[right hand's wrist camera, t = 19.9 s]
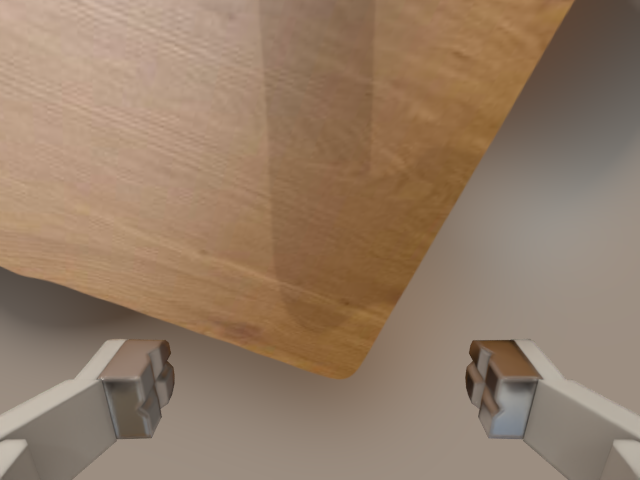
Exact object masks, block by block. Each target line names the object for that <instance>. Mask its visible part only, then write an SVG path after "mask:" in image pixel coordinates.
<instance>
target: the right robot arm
mask: <svg viewBox="0 0 640 480" xmlns="http://www.w3.org/2000/svg"><path fill="white" fill-rule="evenodd" d="M170 354H171V351H170V346H169V343H168V342H167V341H166V340H140V339H129V340H128V339H110V340H108V341H106V342H105V343H104V344H103V345H102V346H101V348H100V349H99V350H98V351H97V352H96V354H95V355H94V356H93V357H92V358H91V360H90V361H89V362H88V363H87V364H86V365H85V367H84V368H83V369H82V370H81V371H80V373H79V374H78V375H77V376H76V377H75V379H74V380H66V381H64V382H62V383H60V384H58V385H57V386H55V387H53V388H51V389H49V390H47V391H45V392H43V393H41V394H39V395H38V396H36V397H34V398H32V399H30V400H28V401H26V402H24V403H22V404H20V405H18V406H17V407H15V408H13V409H11V410H9V411H7V412H5V413H3V414H1V415H0V480H72V479H73V478H75V477H76V476H77V475H78V474H79V473H80V472H81V471H83V470H84V469H85V468H86V467H87V466H88V465H90V464H91V463H92V462H93V461H94V460H95V459H97V458H98V457H99V456H100V455H101V454H102V453H103V452H105V451H106V450H107V449H108V448H109V447H110V446H112V445H113V444H114V443H115V442H116V441H117V440H116V439H139V438H152V436H153V434H154V432H155V430H156V428H157V426H158V424H159V422H160V419H161V417H162V416H161V410H160V409H161V408H162V407H164V406H165V405H167V404H168V403H169V400H170V398H171V396H172V392H173V388H174V369H173V366H172V365H171V364H170V363H169V362H168V361H167V360H168V358H169V356H170ZM469 354H470V356H471V358H472V360H473V361H472V362H471V363H470V364H469V365H468V366H467V369H466V377H465V379H466V389H467V392H468V396H469V398H470V400H471V403H472V404H473V405H475V406H476V407H477V408H479V409H480V410H479V416H478V417H479V419H480V421H481V424H482V426H483V428H484V430H485V432H486V434H487V436H488V438H499V439H523V441H524V442H525V443H526V444H528V445H529V446H530V447H531V448H532V449H533V450H534V451H536V452H537V453H538V454H539V455H540V456H541V457H543V458H544V459H545V460H546V461H547V462H548V463H549V464H551V465H552V466H553V467H554V468H555V469H556V470H557V471H559V472H560V473H561V474H562V475H563V476H564V477H566V478H567V479H568V480H640V415H639V414H637V413H635V412H633V411H631V410H629V409H627V408H625V407H623V406H621V405H620V404H618V403H616V402H614V401H612V400H610V399H608V398H606V397H604V396H602V395H601V394H599V393H597V392H595V391H593V390H591V389H589V388H587V387H585V386H583V385H582V384H580V383H578V382H576V381H574V380H566V379H565V377H564V376H563V375H562V374H561V373H560V372H559V370H558V369H557V368H556V367H555V366H554V364H553V363H552V362H551V361H550V360H549V358H548V357H547V356H546V355H545V354H544V352H543V351H542V350H541V349H540V348H539V346H538V345H537V344H536V343H535V342H534V341H533V340H531V339H513V340H473V341H472V343H471V345H470V351H469Z"/></svg>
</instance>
